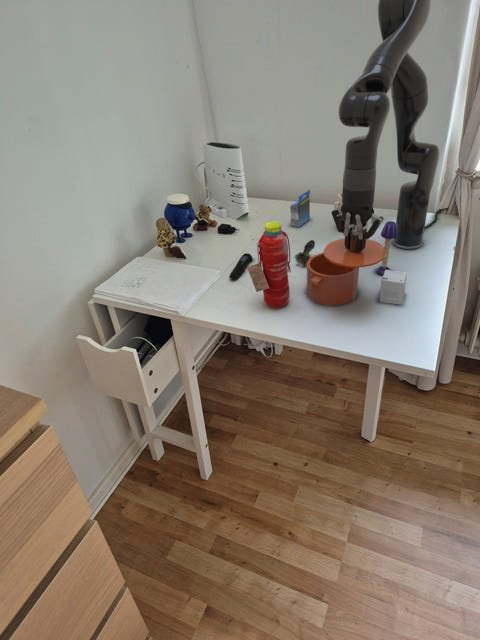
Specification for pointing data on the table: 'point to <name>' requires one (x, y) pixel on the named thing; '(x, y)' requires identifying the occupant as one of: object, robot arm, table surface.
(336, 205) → the character mug
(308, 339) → the table surface
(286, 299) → the water bottle
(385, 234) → the purple tan pedestal column
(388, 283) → the white cardboard box
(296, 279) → the table surface
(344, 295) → the pot
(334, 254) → the pot lid
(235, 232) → the table surface
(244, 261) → the electric trimmer
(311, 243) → the eagle figurine
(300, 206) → the tape cartridge
